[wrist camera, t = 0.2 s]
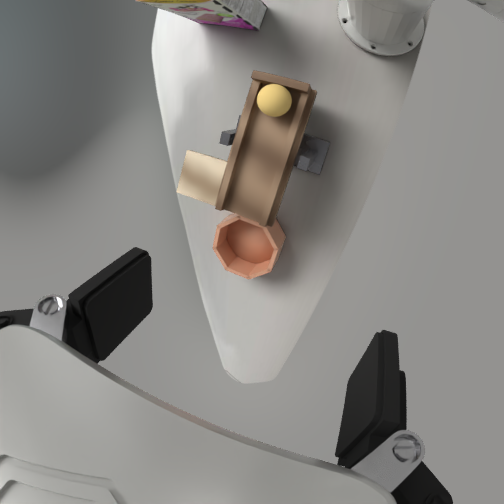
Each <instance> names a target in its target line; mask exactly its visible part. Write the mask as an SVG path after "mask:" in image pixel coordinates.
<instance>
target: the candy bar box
mask: <svg viewBox="0 0 504 504" xmlns="http://www.w3.org/2000/svg"><path fill="white" fill-rule="evenodd" d="M136 1H139V2H142V3H145V4H148V5H151V6H154V7H157V8H160V9H163V10H166V11H169V12H172V13H175V14H177V15H180V16H183V17H185V18H188V19H190V20H193V21H195V22H197V23H207V24H217V25H225V26H233V27H239V28H246V29H252V30H257V31H259V29H260V27H261V23H262V20H263V17H264V14H265V12H266V9H267V6H266V5H265V4H264V3H263V2H262V1H261V0H136Z"/></svg>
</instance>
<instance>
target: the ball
mask: <svg viewBox="0 0 504 504" xmlns="http://www.w3.org/2000/svg"><path fill="white" fill-rule="evenodd" d="M257 104H258V107H259V109H260V110H261V111H262V112H263V113H264V114H266V115H268V116H272V117H277V116H281V115H283V114H285V113H286V112H287V111H288V110H289V109H290V107H291V104H292V98H291V94H290V92H289V91H288V90H287V89H286V88H285V87H283V86H281V85H278V84H270V85H267V86H265V87H263V88H262V89H261V90H260V92H259V93H258V96H257Z"/></svg>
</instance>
